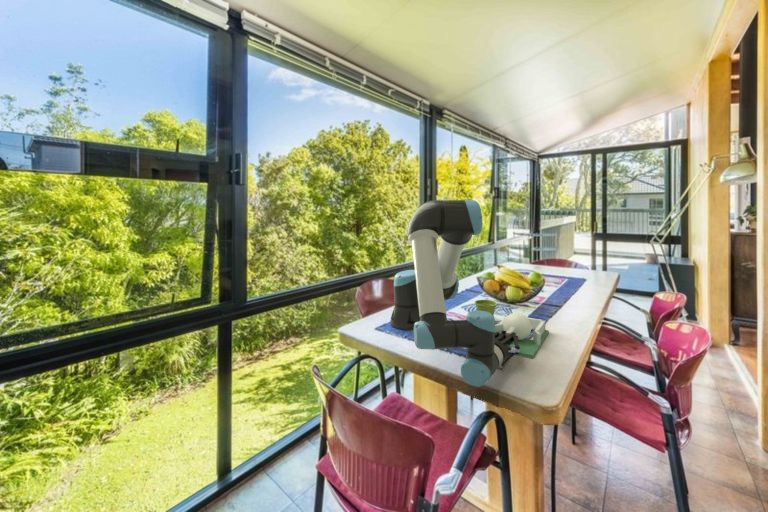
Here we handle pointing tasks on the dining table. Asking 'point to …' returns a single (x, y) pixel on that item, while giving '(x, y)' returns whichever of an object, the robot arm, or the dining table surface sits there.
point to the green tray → (527, 345)
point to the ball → (518, 325)
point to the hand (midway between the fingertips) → (513, 330)
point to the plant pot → (486, 306)
